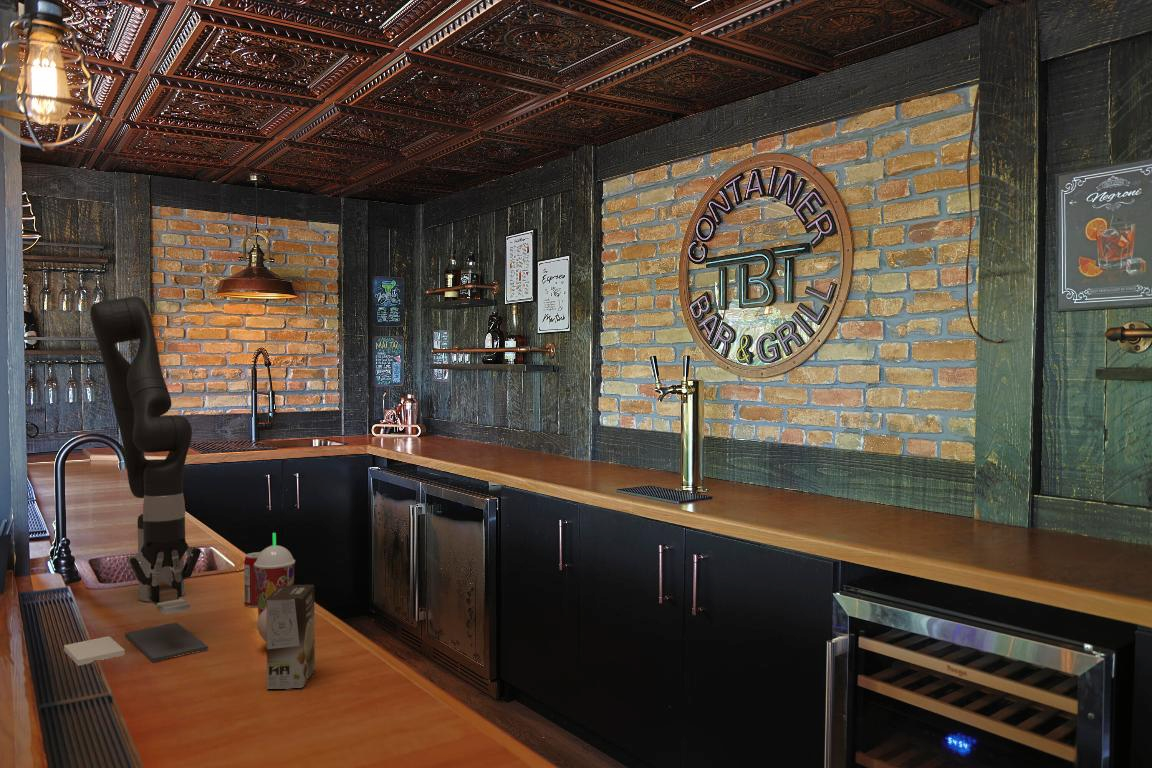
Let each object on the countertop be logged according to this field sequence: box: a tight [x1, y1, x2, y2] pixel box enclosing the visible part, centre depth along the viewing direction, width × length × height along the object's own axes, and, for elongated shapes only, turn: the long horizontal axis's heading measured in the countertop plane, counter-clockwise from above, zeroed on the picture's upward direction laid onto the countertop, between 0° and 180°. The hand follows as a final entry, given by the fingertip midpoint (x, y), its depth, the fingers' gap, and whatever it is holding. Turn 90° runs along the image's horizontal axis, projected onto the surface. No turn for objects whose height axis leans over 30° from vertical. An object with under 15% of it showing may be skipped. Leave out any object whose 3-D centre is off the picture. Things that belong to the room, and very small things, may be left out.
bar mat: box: [124, 622, 209, 664], centre depth 169 cm, size 10×20×1 cm, turn 42°
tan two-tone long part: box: [147, 581, 191, 616], centre depth 167 cm, size 15×5×3 cm, turn 42°
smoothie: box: [254, 532, 296, 619], centre depth 179 cm, size 8×8×20 cm
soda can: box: [243, 551, 262, 608], centre depth 195 cm, size 6×6×12 cm
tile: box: [63, 635, 126, 667], centre depth 163 cm, size 8×2×11 cm
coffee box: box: [266, 584, 316, 690], centre depth 149 cm, size 9×6×16 cm
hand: (165, 601), depth 167 cm, fingers closed on tan two-tone long part, 3 cm apart
